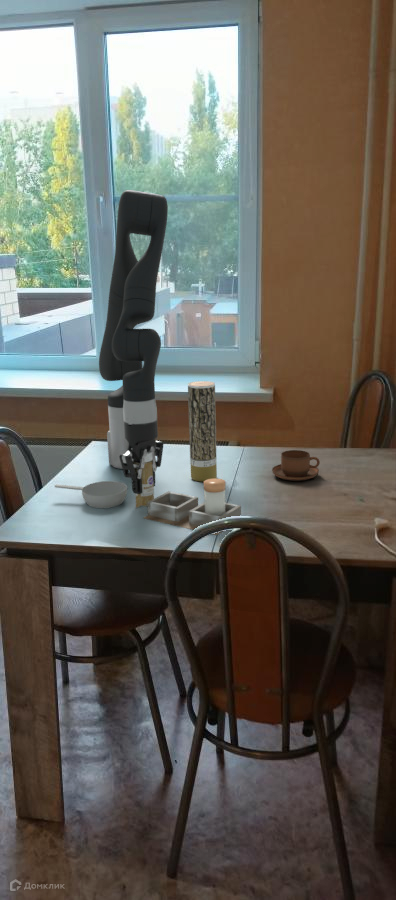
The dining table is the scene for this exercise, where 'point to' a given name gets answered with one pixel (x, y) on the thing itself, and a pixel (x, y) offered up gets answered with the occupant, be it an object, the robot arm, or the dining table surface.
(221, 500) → the white lotion bottle
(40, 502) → the dining table surface
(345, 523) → the dining table surface
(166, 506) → the board
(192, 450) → the paper tube
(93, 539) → the dining table surface
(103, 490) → the small pan
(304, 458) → the cup and saucer
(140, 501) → the sprinkles bottle
